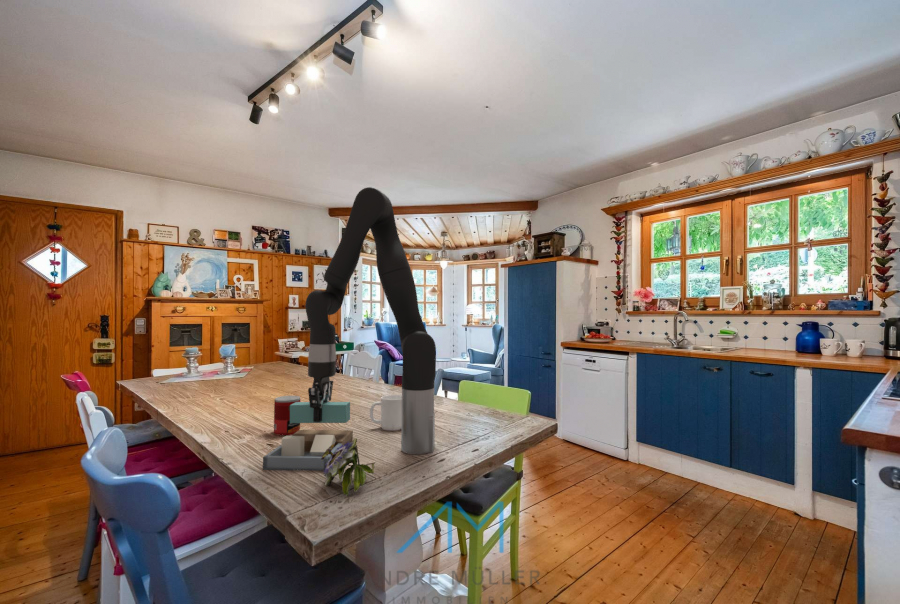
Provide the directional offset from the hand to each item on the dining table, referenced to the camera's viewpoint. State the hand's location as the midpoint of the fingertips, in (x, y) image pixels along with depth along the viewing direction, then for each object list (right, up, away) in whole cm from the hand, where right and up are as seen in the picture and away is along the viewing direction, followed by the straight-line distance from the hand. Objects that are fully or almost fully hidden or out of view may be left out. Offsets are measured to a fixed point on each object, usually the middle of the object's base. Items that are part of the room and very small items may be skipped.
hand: (320, 419), depth 110 cm
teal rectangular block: (0, -1, 0) cm, 1 cm away
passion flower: (+14, -7, -25) cm, 29 cm away
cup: (+16, -9, +19) cm, 27 cm away
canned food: (-15, -9, +13) cm, 22 cm away
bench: (0, -8, -1) cm, 8 cm away
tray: (0, -7, -11) cm, 14 cm away
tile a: (+4, -5, -8) cm, 10 cm away
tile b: (-4, -5, -8) cm, 10 cm away
